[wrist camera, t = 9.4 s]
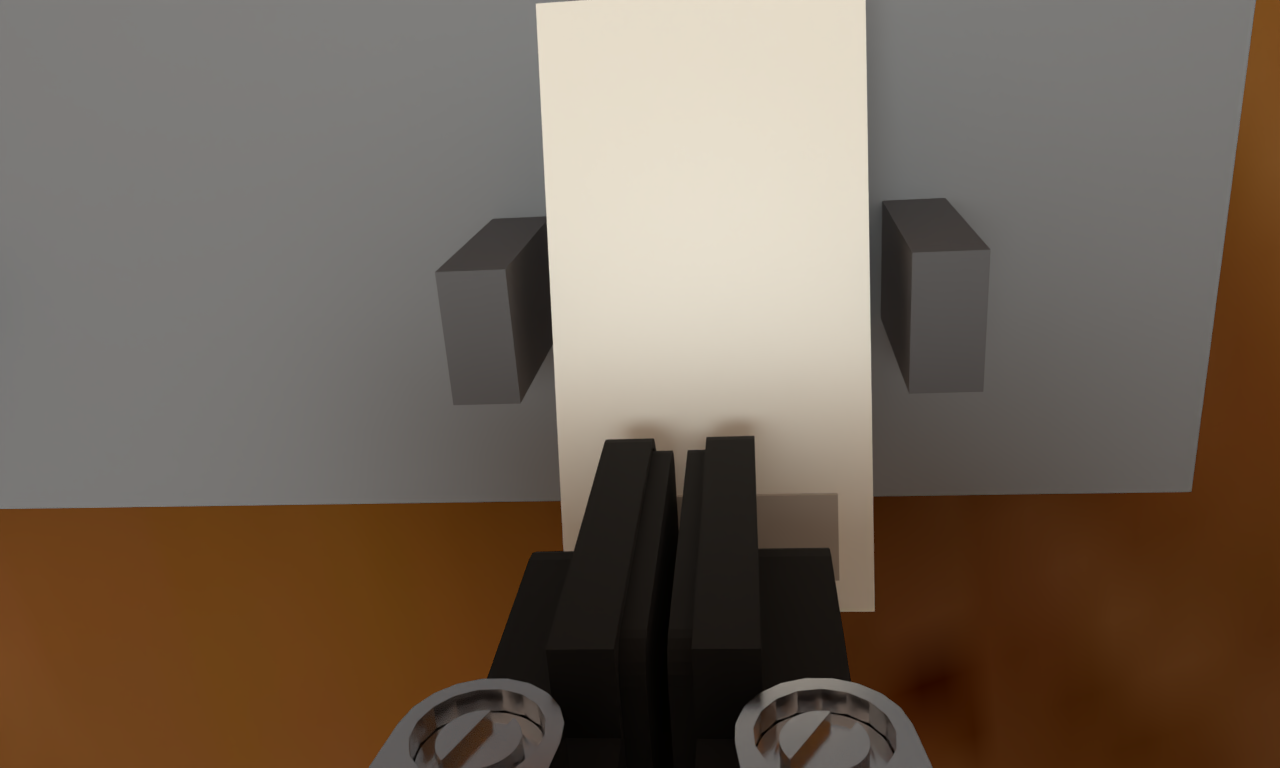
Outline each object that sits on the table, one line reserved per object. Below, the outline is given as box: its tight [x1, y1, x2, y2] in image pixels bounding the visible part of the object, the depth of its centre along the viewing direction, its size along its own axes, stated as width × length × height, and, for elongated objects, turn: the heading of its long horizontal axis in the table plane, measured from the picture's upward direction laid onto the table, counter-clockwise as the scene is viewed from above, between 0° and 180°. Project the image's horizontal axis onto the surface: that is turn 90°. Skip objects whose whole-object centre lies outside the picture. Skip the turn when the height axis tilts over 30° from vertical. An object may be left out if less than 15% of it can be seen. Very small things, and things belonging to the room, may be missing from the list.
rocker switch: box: [536, 0, 875, 612], centre depth 12 cm, size 4×7×1 cm, turn 4°
